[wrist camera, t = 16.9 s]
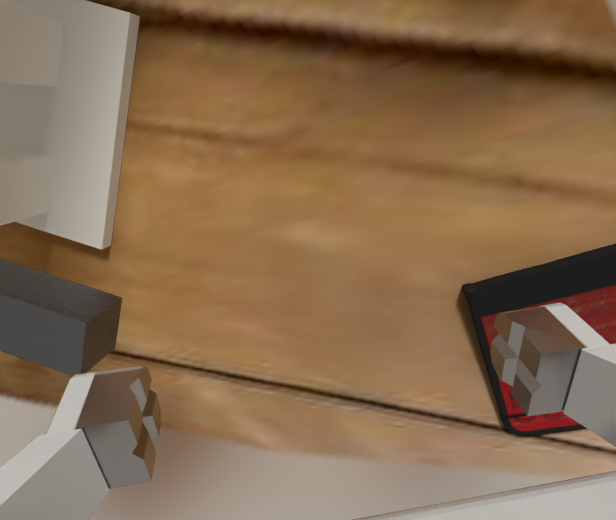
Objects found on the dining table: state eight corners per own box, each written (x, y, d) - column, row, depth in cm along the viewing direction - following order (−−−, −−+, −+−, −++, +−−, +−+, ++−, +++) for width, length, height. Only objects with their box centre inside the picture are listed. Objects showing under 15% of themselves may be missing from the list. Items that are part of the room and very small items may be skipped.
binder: (464, 293, 38) (764, 211, 33) (459, 282, 40) (739, 204, 35) (510, 447, 42) (781, 396, 37) (503, 430, 44) (758, 380, 39)
